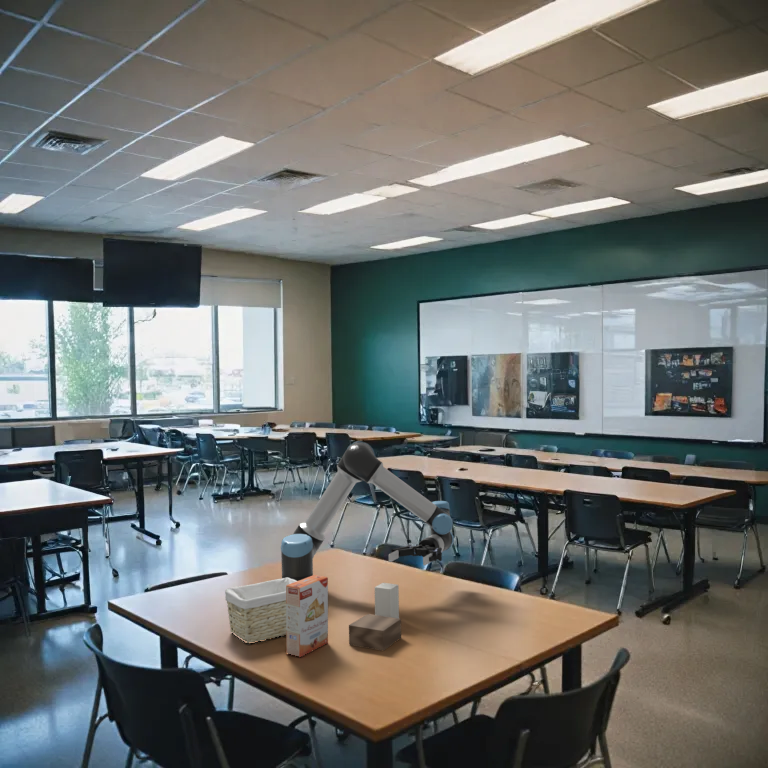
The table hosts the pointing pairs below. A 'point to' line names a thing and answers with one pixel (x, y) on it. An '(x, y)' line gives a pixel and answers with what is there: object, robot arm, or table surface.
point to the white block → (387, 600)
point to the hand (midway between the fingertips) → (406, 559)
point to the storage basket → (258, 609)
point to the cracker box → (306, 615)
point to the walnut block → (375, 631)
